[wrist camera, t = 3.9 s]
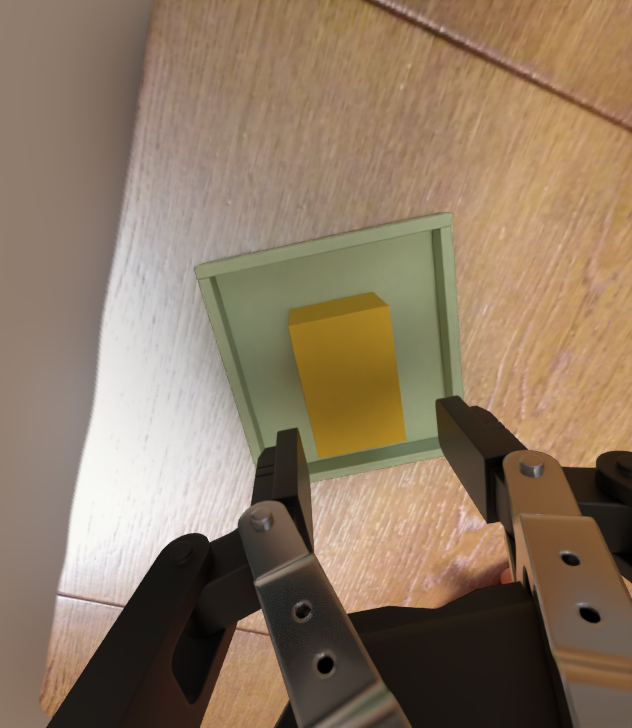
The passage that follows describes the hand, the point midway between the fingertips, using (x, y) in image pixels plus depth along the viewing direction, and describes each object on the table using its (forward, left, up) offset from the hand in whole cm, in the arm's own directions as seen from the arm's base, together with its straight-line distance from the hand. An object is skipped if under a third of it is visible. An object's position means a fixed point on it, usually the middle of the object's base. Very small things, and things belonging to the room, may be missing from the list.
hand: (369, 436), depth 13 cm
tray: (0, 0, -9) cm, 9 cm away
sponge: (0, 0, -8) cm, 8 cm away
